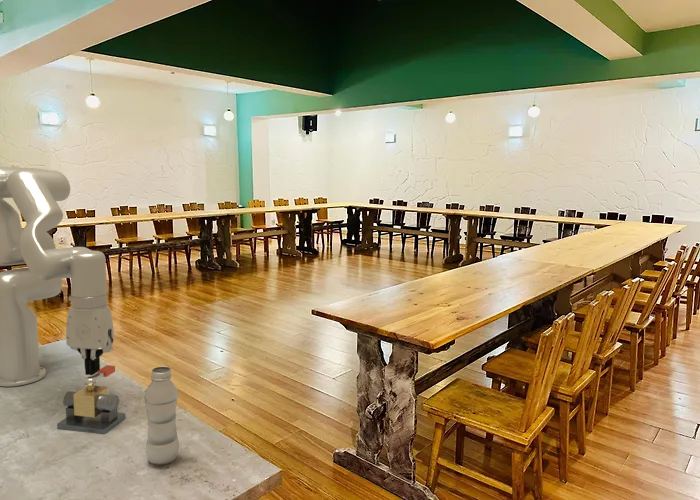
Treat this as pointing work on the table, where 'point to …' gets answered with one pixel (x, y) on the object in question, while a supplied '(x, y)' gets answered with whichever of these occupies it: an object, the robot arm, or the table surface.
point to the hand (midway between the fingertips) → (92, 372)
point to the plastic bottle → (161, 417)
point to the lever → (100, 374)
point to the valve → (91, 410)
